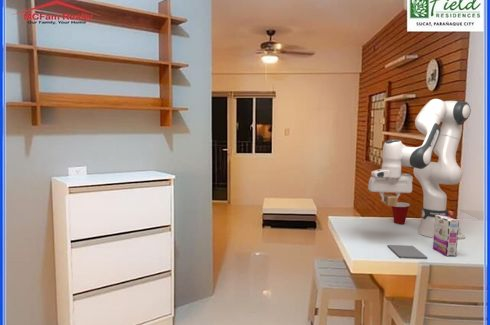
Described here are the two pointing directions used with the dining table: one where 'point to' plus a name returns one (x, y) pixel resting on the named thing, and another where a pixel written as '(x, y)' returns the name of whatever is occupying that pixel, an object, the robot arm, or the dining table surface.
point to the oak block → (390, 200)
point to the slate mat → (407, 251)
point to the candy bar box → (445, 235)
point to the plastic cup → (400, 212)
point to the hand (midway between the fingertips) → (389, 201)
